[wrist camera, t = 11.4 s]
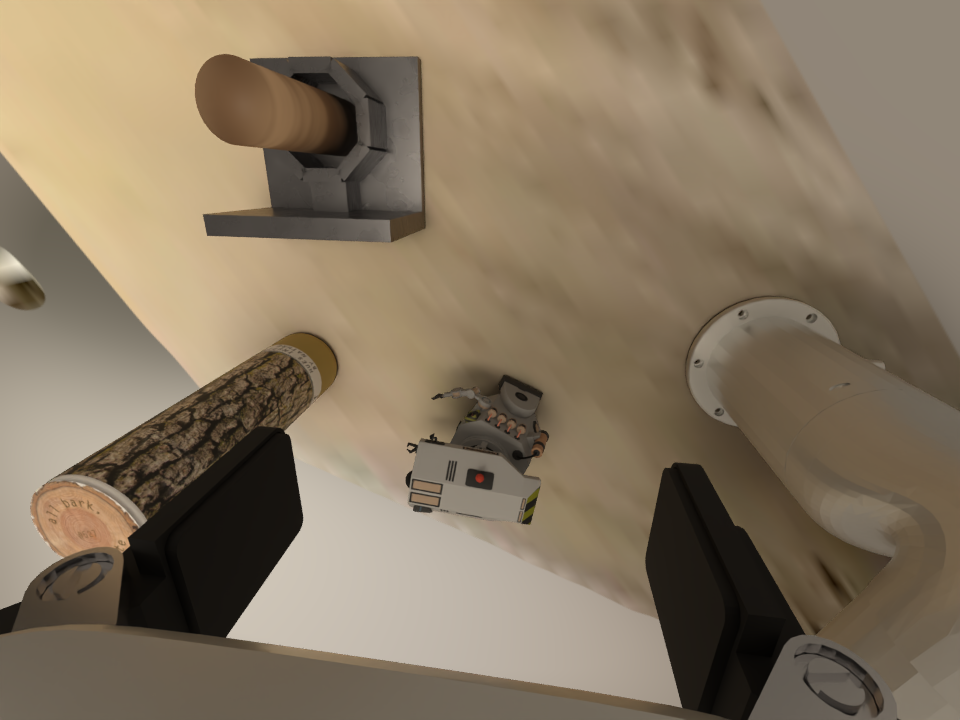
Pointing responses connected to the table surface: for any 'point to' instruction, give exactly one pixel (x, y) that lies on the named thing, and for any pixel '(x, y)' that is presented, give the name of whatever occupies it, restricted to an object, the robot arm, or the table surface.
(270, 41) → the table surface
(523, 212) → the table surface
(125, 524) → the paper tube
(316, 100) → the brown wooden cylinder
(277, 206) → the bracket
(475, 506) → the figurine
